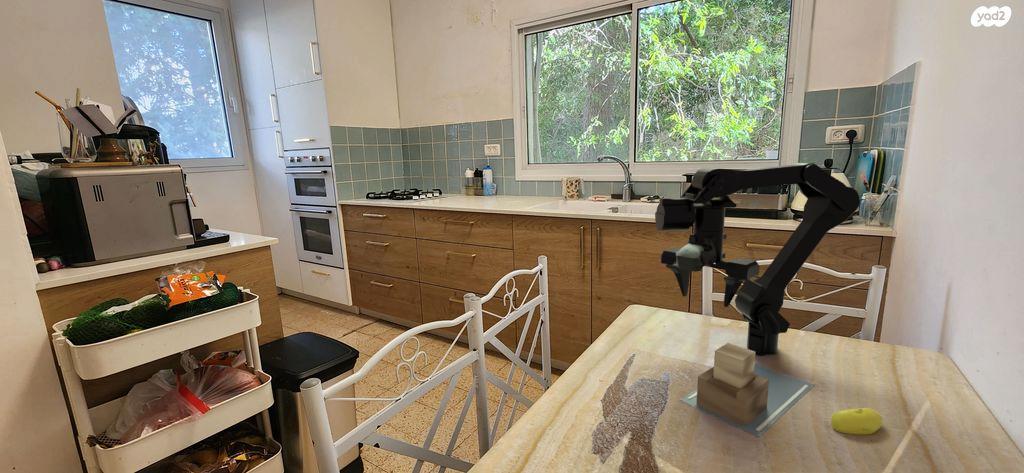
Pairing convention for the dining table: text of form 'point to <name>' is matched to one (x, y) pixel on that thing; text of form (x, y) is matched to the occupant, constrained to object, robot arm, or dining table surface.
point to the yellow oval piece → (857, 421)
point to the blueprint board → (780, 399)
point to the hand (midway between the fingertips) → (704, 301)
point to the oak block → (734, 365)
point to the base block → (732, 397)
